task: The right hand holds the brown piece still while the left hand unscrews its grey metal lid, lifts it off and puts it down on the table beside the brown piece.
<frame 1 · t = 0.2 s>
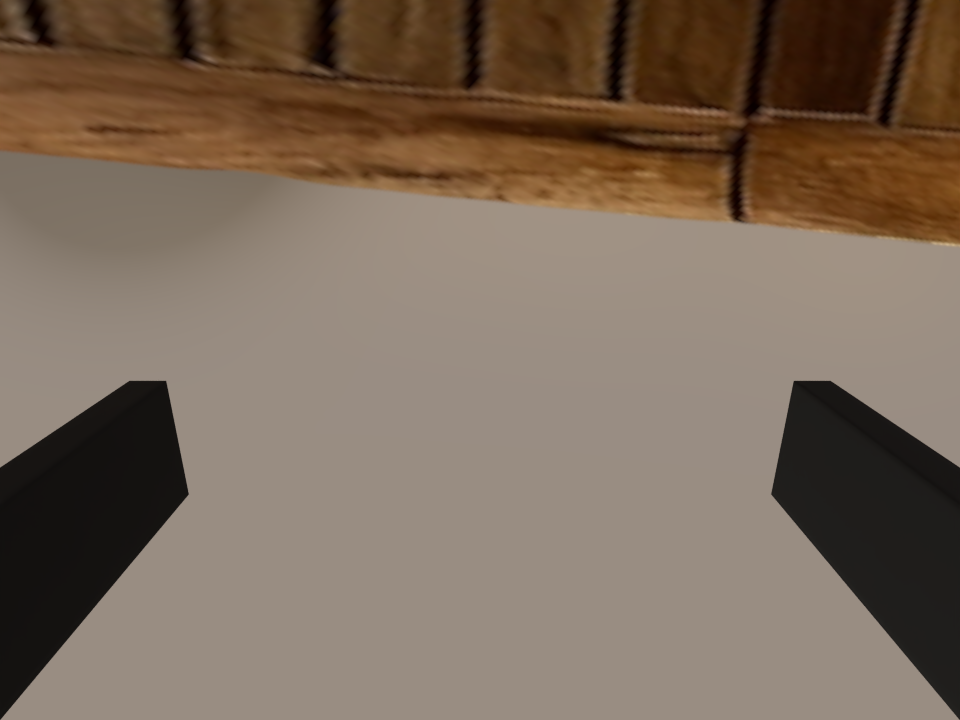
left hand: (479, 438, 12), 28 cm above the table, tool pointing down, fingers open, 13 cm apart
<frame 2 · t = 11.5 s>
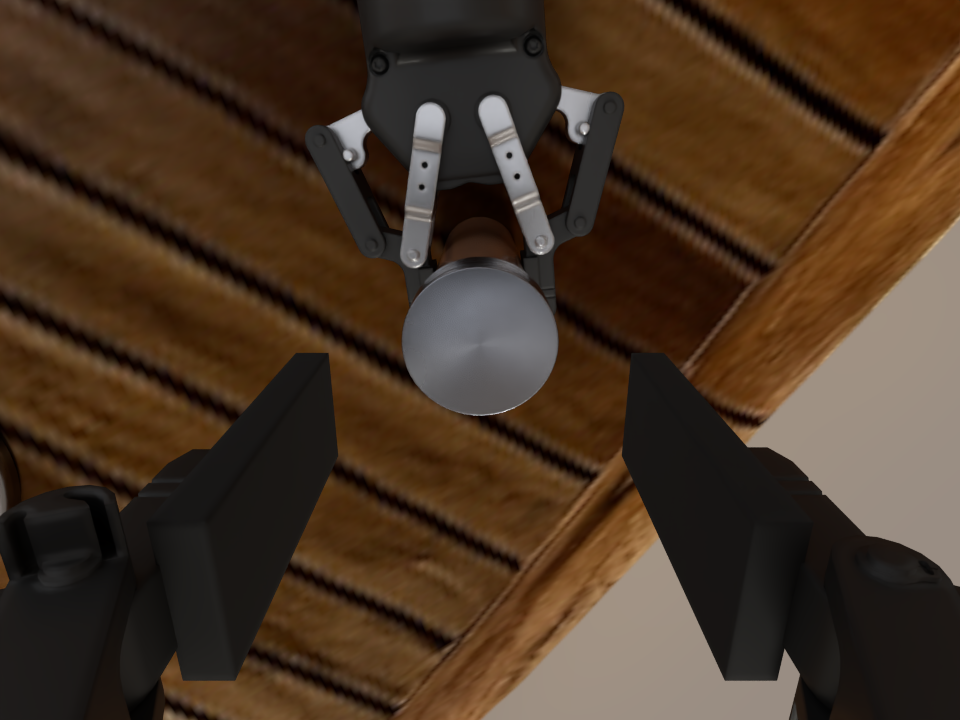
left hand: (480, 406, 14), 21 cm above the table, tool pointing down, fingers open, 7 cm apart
right hand: (486, 331, 29), fingers closed on brown piece, 4 cm apart
brown piece: (480, 253, 34), on the table, touching right hand
lid: (480, 341, 19), point 16 cm above the table, screwed on, not yet turned
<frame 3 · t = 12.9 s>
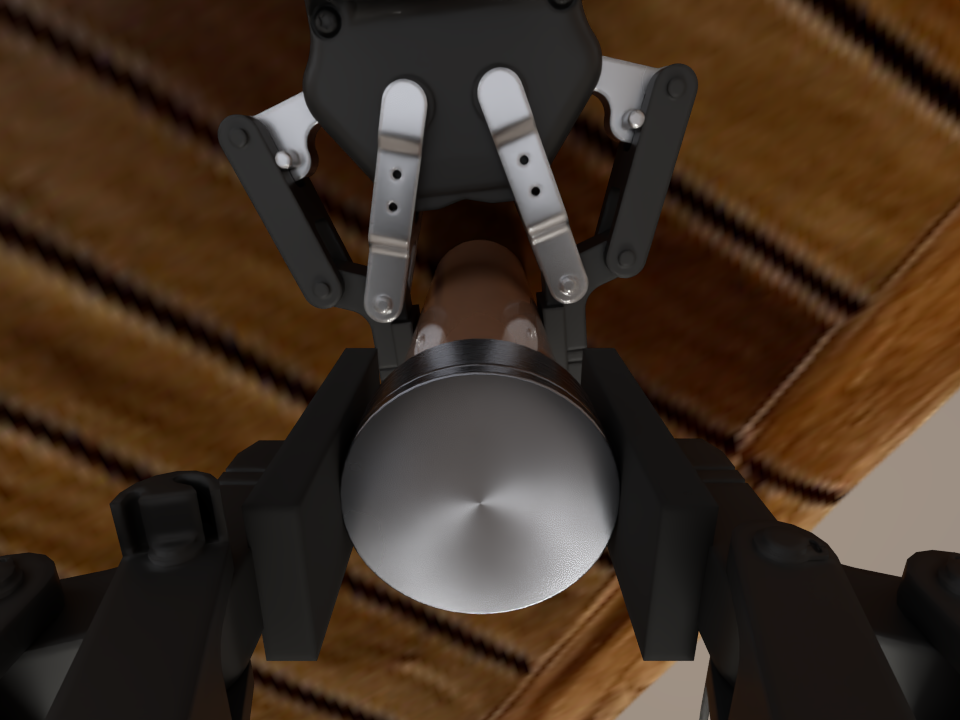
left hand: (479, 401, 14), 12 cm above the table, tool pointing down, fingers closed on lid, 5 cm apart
right hand: (489, 405, 21), fingers closed on brown piece, 4 cm apart
brown piece: (479, 286, 26), on the table, touching right hand
lid: (480, 492, 11), point 16 cm above the table, screwed on, not yet turned, touching left hand
when the left hand's fingers open (13 cm above the table, at t = 14.3 s): lid stays where it is, point 17 cm above the table.
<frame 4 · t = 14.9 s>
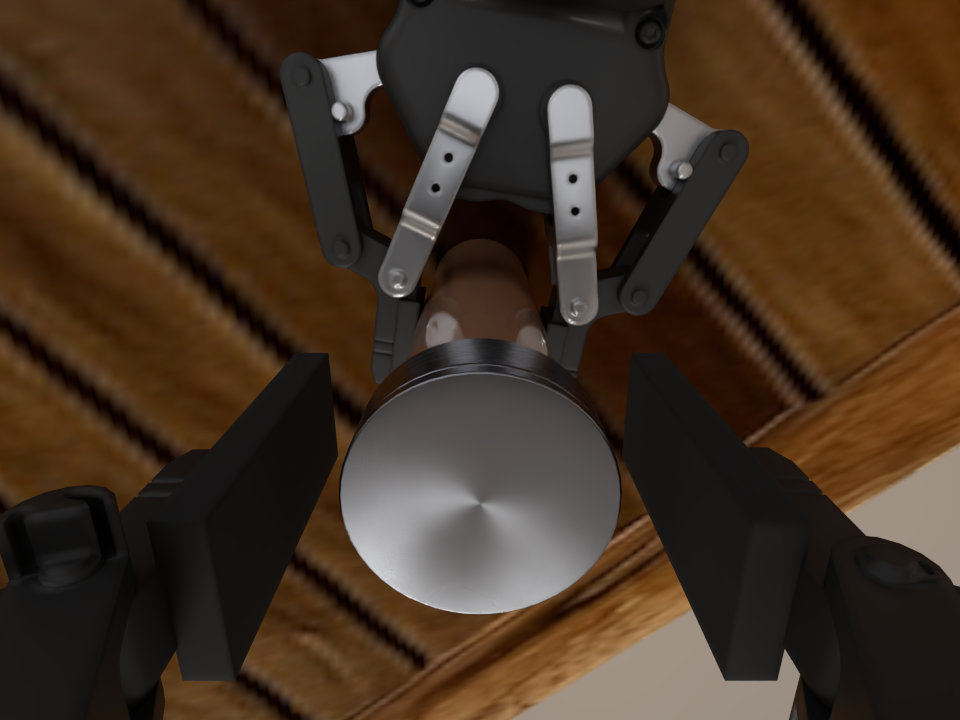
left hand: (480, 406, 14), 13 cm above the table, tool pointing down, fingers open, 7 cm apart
right hand: (468, 402, 21), fingers closed on brown piece, 4 cm apart
brown piece: (480, 285, 26), on the table, touching right hand
lid: (480, 492, 11), point 17 cm above the table, turned 77° so far, risen 0.2 cm, still on its thread
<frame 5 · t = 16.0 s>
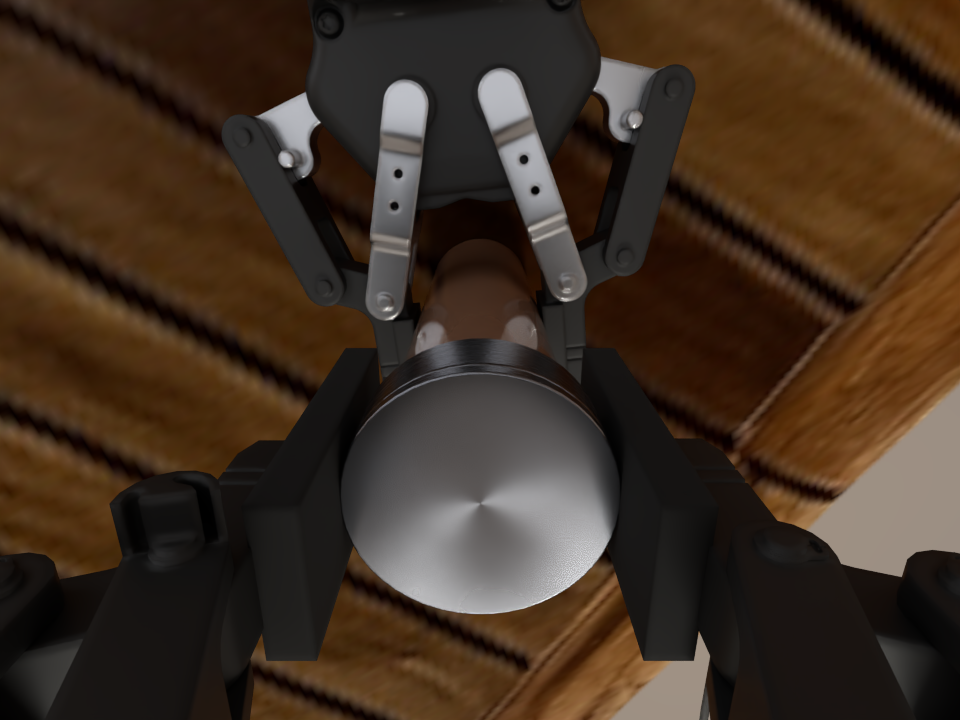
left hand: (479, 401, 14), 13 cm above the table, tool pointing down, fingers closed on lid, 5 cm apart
right hand: (489, 402, 21), fingers closed on brown piece, 4 cm apart
brown piece: (480, 285, 26), on the table, touching right hand
lid: (480, 492, 11), point 17 cm above the table, turned 77° so far, risen 0.2 cm, still on its thread, touching left hand
when the left hand's fingers open (0 cm above the table, at t = 22.4 s): lid drops 3 cm, point 1 cm above the table.
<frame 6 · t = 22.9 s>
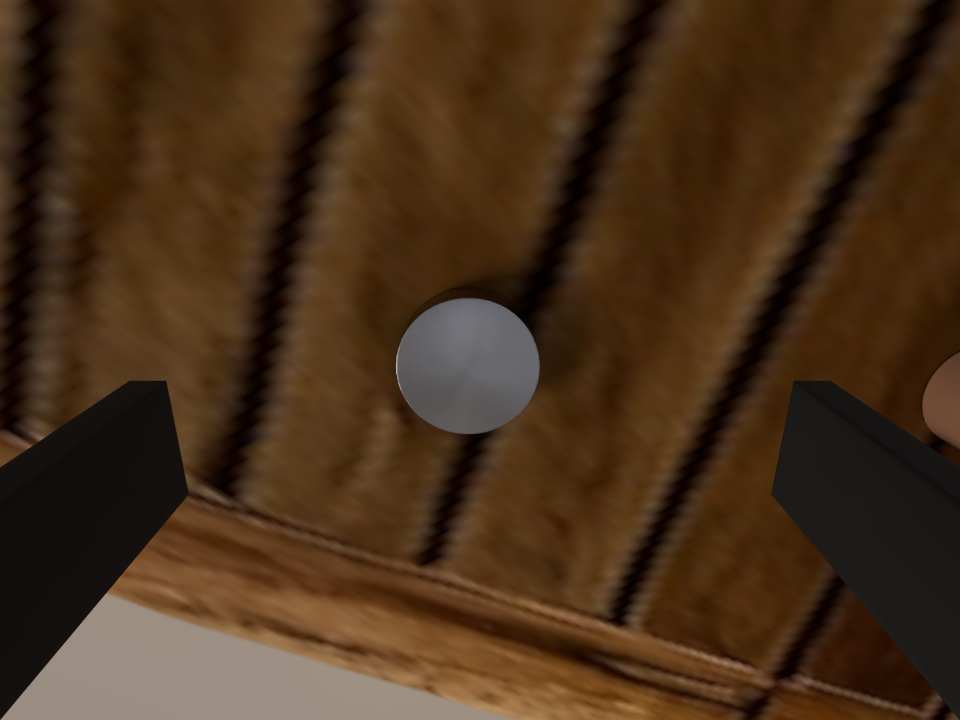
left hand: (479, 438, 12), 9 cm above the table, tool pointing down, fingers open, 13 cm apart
lid: (468, 365, 20), point 1 cm above the table, off its thread
when the right hand's fingers open (7 cm above the table, at t = 23.0 s): brown piece stays where it is, on the table.
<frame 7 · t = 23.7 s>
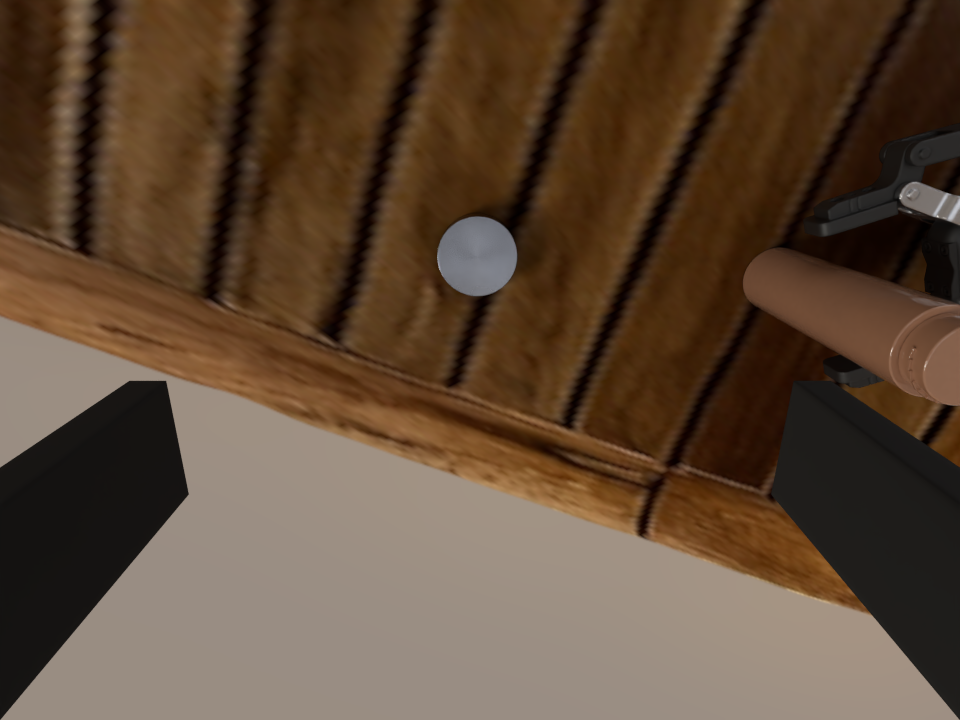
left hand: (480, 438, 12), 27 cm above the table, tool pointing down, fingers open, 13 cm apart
brown piece: (774, 278, 38), on the table
lid: (477, 256, 36), point 1 cm above the table, off its thread
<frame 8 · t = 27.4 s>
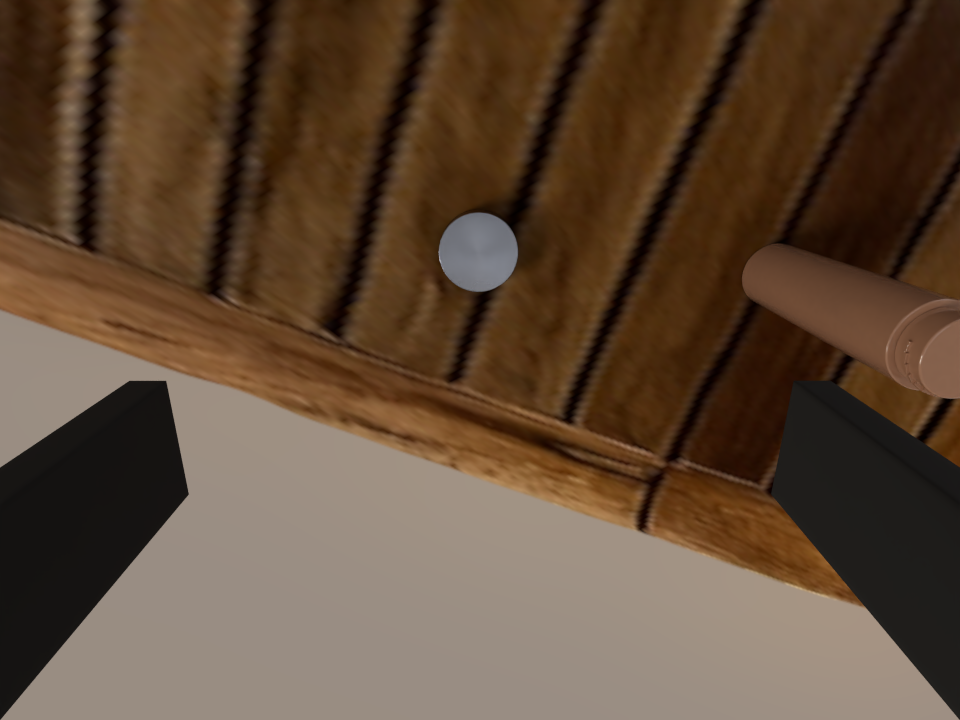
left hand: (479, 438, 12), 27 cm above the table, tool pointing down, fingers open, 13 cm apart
brown piece: (773, 274, 39), on the table
lid: (478, 252, 37), point 1 cm above the table, off its thread
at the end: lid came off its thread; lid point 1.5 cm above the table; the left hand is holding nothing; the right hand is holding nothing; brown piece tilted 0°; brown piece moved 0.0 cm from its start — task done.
